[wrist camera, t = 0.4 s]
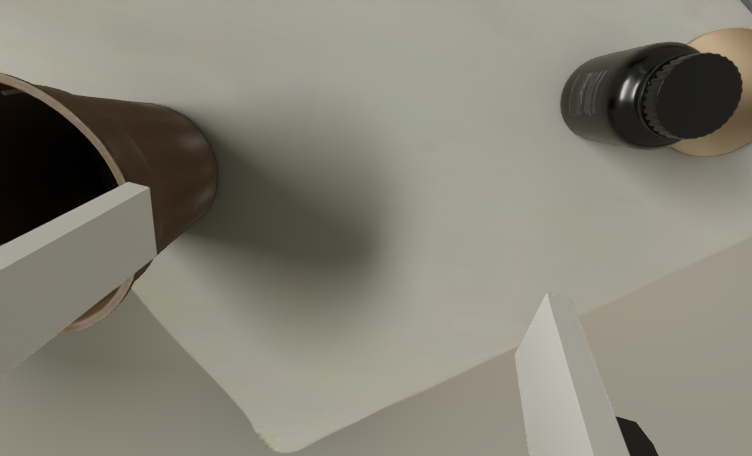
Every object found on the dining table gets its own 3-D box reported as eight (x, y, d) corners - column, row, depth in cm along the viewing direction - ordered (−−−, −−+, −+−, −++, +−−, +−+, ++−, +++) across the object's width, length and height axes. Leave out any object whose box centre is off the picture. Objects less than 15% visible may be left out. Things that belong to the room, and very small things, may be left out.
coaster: (681, 17, 32) (686, 16, 31) (804, 42, 32) (812, 41, 31) (632, 143, 35) (636, 143, 35) (745, 165, 35) (750, 167, 35)
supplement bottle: (596, 155, 36) (686, 182, 24) (541, 105, 35) (607, 107, 23) (659, 92, 34) (790, 88, 22) (603, 36, 33) (709, 3, 21)
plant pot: (277, 180, 38) (192, 233, 23) (171, 278, 42) (38, 379, 27) (147, 40, 35) (-50, -6, 20) (46, 160, 39) (-183, 199, 24)
